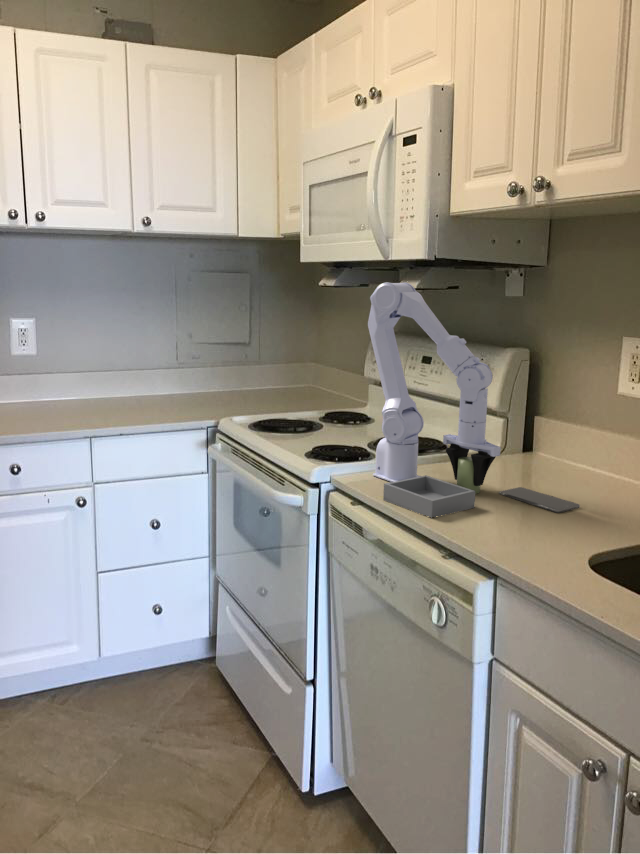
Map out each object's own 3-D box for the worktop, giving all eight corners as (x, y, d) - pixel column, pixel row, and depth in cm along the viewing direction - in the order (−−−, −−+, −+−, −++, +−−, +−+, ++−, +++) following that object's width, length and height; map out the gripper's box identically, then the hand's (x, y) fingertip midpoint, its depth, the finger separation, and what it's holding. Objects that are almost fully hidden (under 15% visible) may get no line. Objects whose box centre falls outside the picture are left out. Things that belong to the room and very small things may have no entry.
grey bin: (383, 500, 152) (383, 483, 151) (425, 490, 159) (425, 475, 158) (431, 518, 141) (432, 500, 140) (474, 507, 148) (475, 491, 147)
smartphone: (520, 486, 162) (581, 504, 148) (520, 491, 162) (581, 509, 149) (497, 491, 158) (557, 510, 144) (496, 496, 158) (557, 515, 145)
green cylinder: (451, 489, 160) (453, 458, 158) (467, 486, 163) (469, 455, 161) (468, 495, 156) (470, 463, 154) (484, 491, 159) (486, 460, 157)
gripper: (511, 424, 153) (507, 487, 156) (460, 413, 164) (456, 472, 167) (489, 428, 149) (484, 492, 151) (437, 416, 160) (434, 476, 163)
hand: (468, 482), depth 159 cm, fingers closed on green cylinder, 5 cm apart
